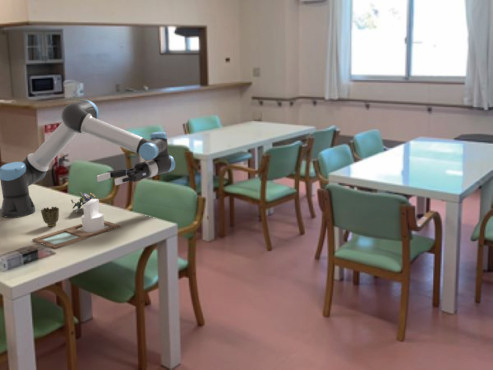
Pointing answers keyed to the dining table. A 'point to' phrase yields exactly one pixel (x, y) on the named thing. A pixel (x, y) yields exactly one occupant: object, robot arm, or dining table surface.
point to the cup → (50, 216)
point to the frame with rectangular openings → (63, 238)
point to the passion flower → (83, 199)
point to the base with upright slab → (92, 216)
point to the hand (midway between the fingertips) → (106, 180)
